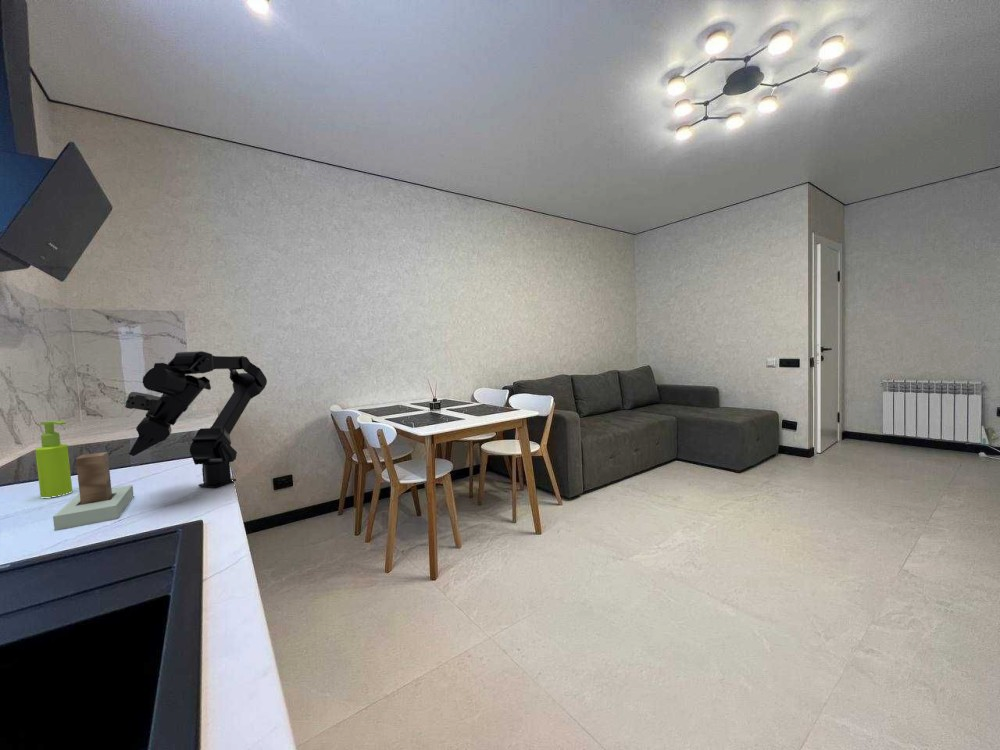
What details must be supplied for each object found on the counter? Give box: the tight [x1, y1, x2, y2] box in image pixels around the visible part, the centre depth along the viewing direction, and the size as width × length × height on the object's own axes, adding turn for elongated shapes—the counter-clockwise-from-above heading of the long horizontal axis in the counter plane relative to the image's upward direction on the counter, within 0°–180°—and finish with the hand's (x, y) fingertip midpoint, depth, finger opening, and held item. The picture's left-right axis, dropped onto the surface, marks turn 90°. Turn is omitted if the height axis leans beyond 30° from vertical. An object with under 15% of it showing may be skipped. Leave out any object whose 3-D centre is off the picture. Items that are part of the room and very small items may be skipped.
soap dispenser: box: [35, 420, 73, 498], centre depth 112 cm, size 6×7×20 cm
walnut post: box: [75, 451, 112, 505], centre depth 98 cm, size 4×4×12 cm
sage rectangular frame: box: [52, 484, 134, 531], centre depth 99 cm, size 18×10×3 cm, turn 32°
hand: (134, 448), depth 103 cm, fingers open, 9 cm apart
